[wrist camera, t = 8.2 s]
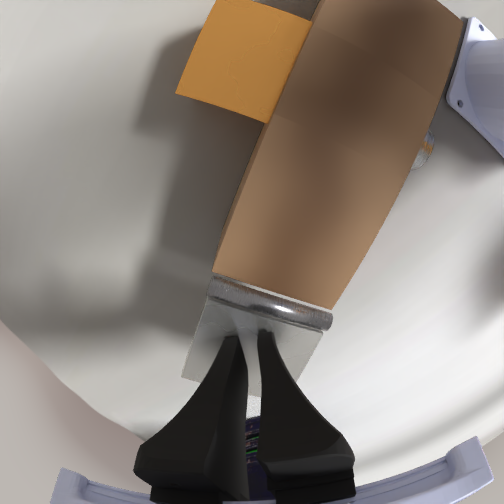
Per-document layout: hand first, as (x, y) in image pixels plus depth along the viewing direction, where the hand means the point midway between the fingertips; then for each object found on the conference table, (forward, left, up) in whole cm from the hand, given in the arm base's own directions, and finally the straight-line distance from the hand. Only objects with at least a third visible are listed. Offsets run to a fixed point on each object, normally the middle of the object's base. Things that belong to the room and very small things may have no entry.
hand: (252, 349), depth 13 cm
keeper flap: (0, 0, -1) cm, 1 cm away
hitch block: (0, -11, -6) cm, 12 cm away
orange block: (+1, -12, -6) cm, 13 cm away
